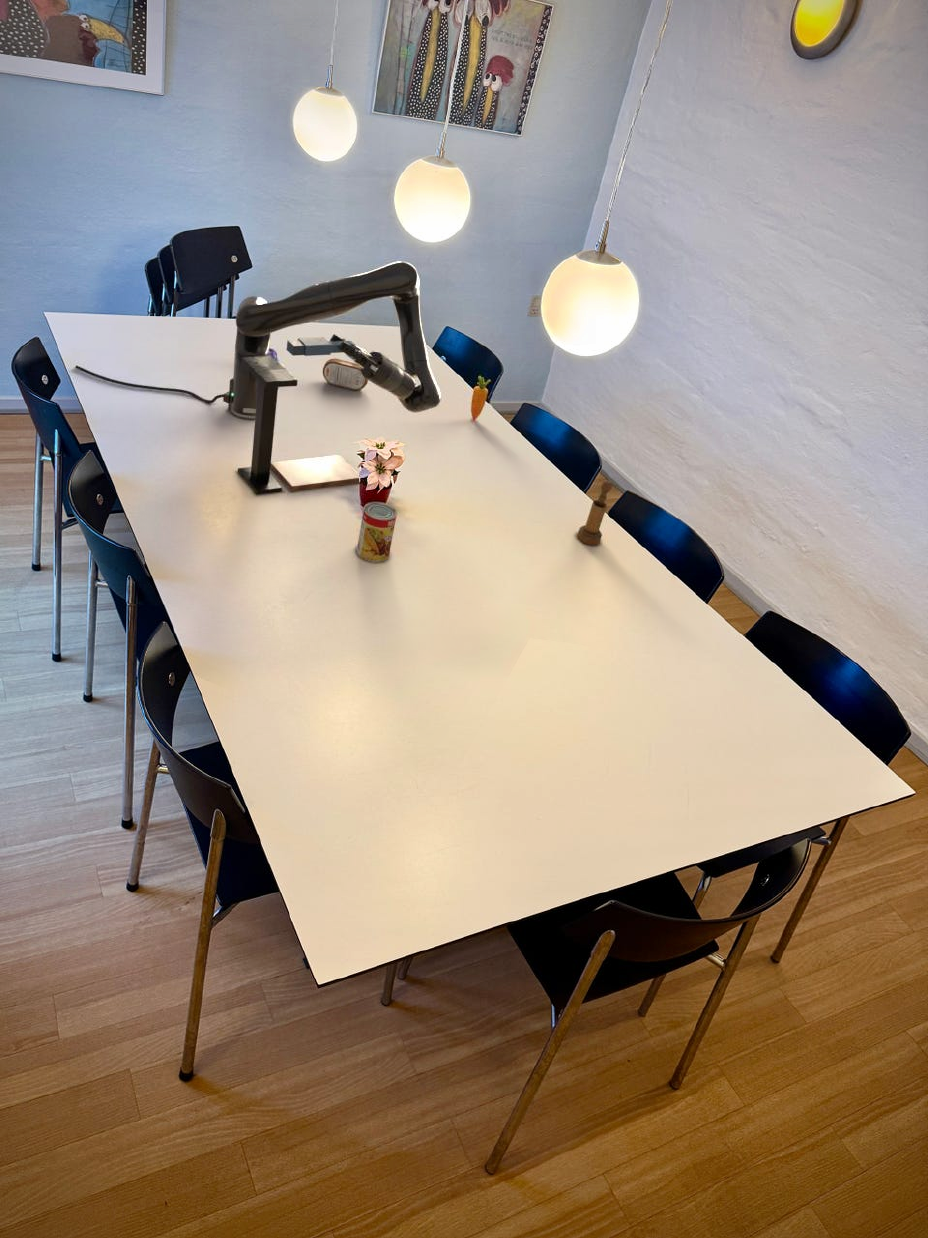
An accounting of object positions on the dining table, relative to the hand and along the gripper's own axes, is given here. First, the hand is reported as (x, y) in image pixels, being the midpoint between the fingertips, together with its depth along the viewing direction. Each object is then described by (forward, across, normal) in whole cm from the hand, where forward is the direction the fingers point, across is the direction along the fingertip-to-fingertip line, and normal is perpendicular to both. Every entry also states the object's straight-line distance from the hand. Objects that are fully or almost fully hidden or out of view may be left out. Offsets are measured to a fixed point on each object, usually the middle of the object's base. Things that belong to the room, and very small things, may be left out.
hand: (336, 341), depth 218 cm
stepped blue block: (+2, 0, +4) cm, 4 cm away
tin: (-50, -52, +15) cm, 73 cm away
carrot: (-78, -22, -2) cm, 81 cm away
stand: (-3, 0, +41) cm, 41 cm away
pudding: (-33, -70, +24) cm, 81 cm away
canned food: (-14, +38, +35) cm, 54 cm away
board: (-18, 0, +33) cm, 37 cm away
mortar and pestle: (-69, +49, +4) cm, 84 cm away
